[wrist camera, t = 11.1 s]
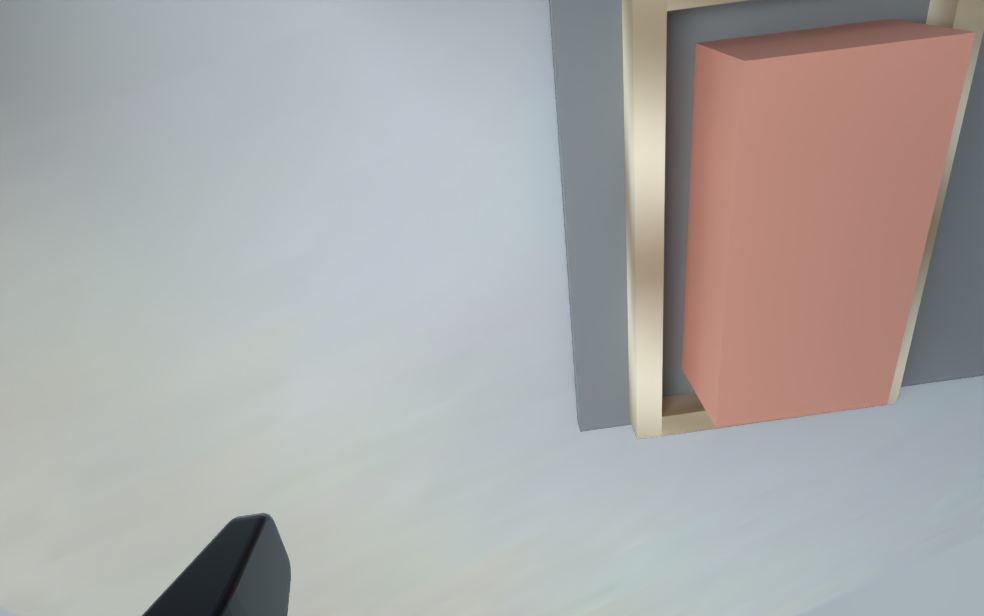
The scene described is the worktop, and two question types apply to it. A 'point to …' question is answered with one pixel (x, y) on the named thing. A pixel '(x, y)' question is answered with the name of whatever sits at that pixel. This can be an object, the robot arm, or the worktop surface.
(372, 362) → the worktop surface
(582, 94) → the mat
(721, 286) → the card deck
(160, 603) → the robot arm
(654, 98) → the slot frame
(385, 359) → the worktop surface
